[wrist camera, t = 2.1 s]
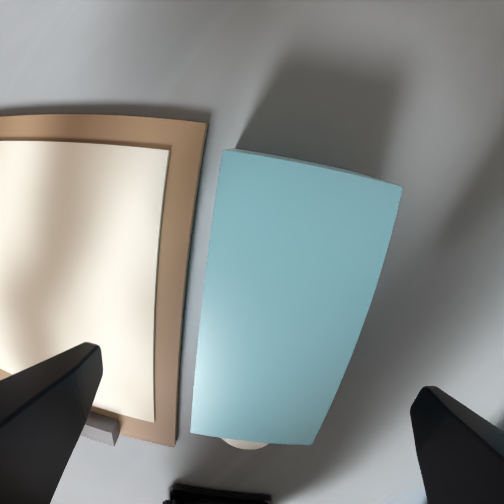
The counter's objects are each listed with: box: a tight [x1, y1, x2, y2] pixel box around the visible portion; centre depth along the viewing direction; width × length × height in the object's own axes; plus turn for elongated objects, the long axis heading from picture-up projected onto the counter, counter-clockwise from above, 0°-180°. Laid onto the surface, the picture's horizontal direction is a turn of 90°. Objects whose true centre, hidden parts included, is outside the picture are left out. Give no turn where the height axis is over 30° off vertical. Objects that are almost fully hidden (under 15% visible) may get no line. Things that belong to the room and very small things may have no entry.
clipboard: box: [0, 114, 208, 447], centre depth 11 cm, size 12×15×1 cm
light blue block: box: [190, 149, 403, 450], centre depth 10 cm, size 10×4×4 cm, turn 171°
